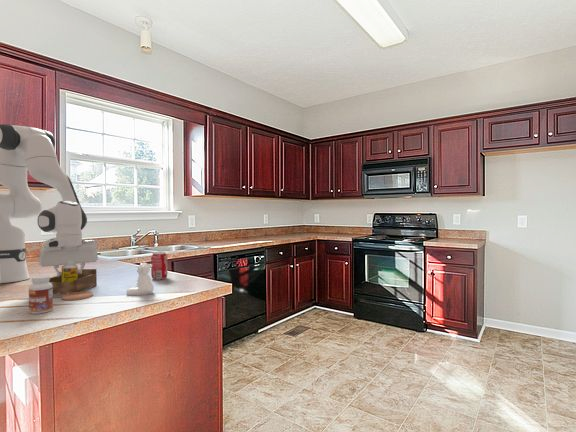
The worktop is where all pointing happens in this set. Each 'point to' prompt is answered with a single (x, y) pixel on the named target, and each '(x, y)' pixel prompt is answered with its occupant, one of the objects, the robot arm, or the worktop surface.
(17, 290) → the worktop surface
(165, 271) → the soda can
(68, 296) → the tan oval disc
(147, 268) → the seated beast figurine
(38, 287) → the pill bottle
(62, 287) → the frame
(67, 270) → the supplement bottle
